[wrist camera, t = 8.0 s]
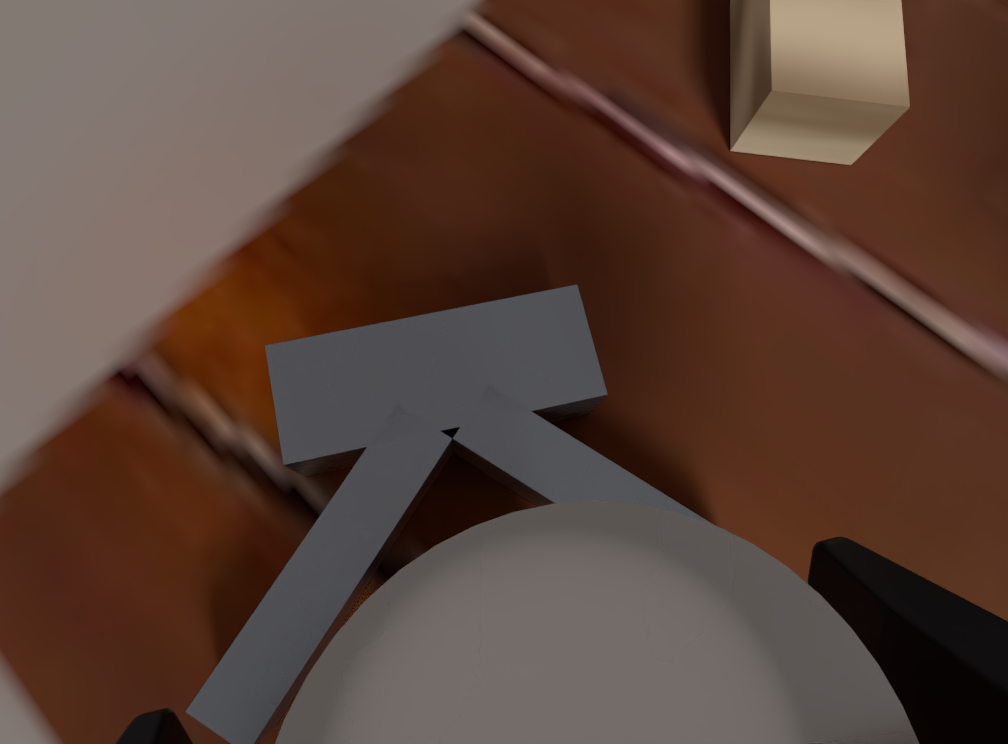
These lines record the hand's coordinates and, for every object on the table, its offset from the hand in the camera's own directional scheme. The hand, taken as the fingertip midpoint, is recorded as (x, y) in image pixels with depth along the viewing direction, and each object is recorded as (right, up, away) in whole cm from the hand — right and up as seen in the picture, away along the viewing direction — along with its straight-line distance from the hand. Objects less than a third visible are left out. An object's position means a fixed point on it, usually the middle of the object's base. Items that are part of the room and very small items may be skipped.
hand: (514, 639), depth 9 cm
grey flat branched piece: (-1, 0, +9) cm, 9 cm away
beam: (+10, +16, +14) cm, 24 cm away
